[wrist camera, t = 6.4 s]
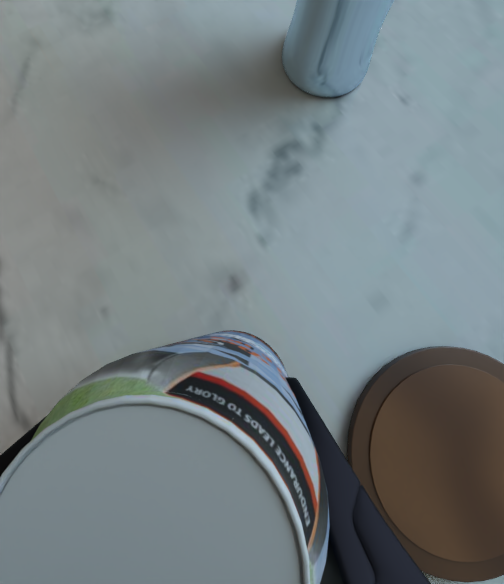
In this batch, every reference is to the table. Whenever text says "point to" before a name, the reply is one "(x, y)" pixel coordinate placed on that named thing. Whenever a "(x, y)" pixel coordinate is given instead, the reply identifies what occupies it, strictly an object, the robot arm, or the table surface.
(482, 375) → the coaster
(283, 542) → the beverage can
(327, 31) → the beer glass
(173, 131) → the table surface
